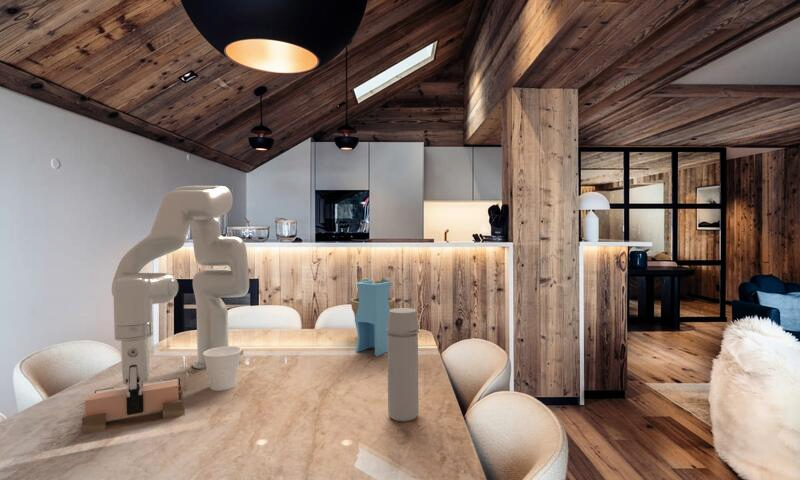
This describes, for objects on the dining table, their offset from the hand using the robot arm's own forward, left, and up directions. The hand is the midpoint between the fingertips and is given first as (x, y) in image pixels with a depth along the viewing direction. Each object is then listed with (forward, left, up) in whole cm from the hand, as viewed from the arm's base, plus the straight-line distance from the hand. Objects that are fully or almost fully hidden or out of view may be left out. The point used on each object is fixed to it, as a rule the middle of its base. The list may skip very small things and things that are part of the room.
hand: (135, 408), depth 100 cm
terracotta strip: (0, 0, -1) cm, 1 cm away
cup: (-20, -12, -3) cm, 23 cm away
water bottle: (-56, +27, -3) cm, 62 cm away
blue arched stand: (-73, -27, -3) cm, 78 cm away
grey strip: (0, -11, -2) cm, 11 cm away
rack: (0, -6, -3) cm, 6 cm away
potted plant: (-82, -47, -3) cm, 94 cm away
